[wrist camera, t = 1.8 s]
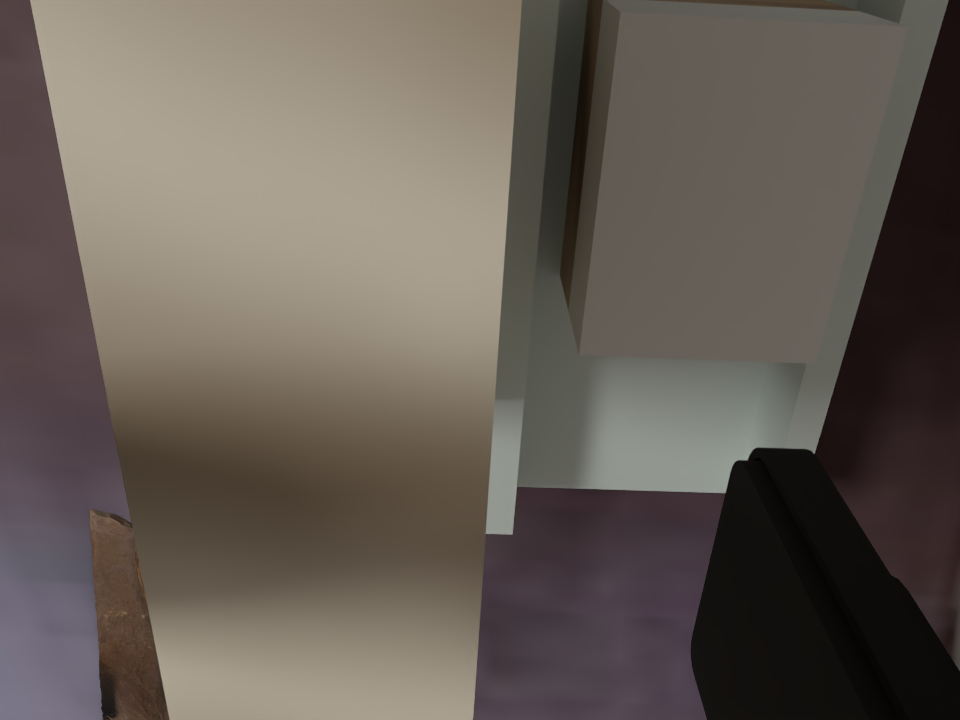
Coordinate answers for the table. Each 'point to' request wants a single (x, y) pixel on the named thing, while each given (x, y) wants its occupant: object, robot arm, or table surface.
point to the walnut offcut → (584, 109)
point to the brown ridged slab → (124, 625)
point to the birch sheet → (296, 331)
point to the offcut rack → (636, 380)
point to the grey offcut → (724, 176)
